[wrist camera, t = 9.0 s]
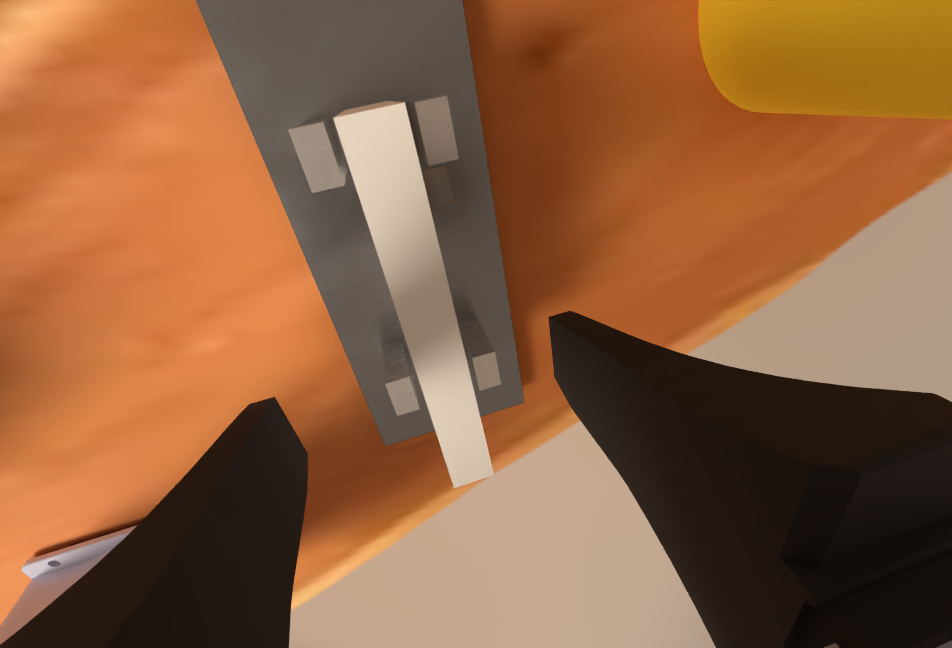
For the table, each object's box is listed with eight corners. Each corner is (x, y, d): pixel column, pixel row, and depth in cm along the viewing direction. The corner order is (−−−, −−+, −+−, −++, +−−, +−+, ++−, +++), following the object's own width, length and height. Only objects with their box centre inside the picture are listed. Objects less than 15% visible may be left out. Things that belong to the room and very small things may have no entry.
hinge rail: (384, 430, 23) (388, 491, 19) (197, -20, 13) (132, -66, 9) (517, 389, 24) (544, 440, 20) (444, -61, 14) (473, -117, 10)
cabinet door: (427, 374, 20) (454, 488, 14) (345, 109, 14) (333, 117, 8) (470, 361, 21) (515, 468, 15) (409, 96, 14) (442, 94, 9)
